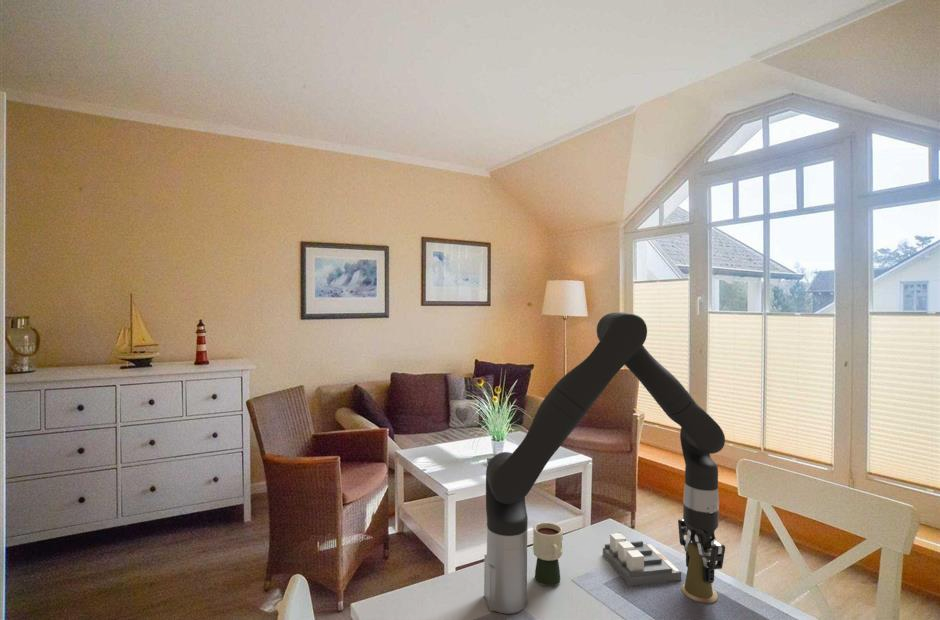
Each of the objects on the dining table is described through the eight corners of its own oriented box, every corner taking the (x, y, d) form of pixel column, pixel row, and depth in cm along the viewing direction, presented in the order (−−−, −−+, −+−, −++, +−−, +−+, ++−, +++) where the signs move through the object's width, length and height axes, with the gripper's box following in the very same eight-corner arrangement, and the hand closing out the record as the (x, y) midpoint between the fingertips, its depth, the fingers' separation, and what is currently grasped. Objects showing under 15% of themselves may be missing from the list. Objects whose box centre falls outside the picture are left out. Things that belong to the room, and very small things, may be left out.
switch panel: (629, 585, 114) (629, 573, 114) (602, 555, 128) (602, 544, 128) (681, 580, 117) (681, 568, 117) (649, 550, 130) (650, 540, 130)
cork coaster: (695, 604, 107) (695, 602, 107) (675, 585, 114) (675, 583, 114) (725, 601, 108) (725, 599, 108) (703, 582, 116) (703, 580, 116)
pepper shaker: (716, 599, 108) (717, 552, 108) (688, 596, 109) (689, 549, 109) (708, 584, 114) (708, 539, 114) (681, 581, 115) (682, 537, 115)
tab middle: (623, 563, 120) (623, 548, 120) (617, 557, 123) (618, 542, 123) (634, 562, 120) (634, 547, 120) (628, 556, 123) (628, 541, 123)
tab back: (615, 554, 124) (615, 539, 124) (609, 548, 127) (610, 533, 127) (625, 553, 125) (626, 538, 125) (620, 547, 128) (620, 533, 128)
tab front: (632, 573, 115) (632, 557, 115) (626, 566, 118) (626, 550, 118) (643, 572, 116) (644, 556, 116) (637, 565, 119) (637, 549, 119)
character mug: (570, 592, 111) (570, 538, 111) (541, 596, 110) (542, 541, 109) (552, 567, 122) (553, 517, 122) (526, 570, 120) (526, 519, 120)
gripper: (668, 492, 117) (667, 559, 118) (707, 518, 103) (705, 595, 104) (695, 491, 119) (694, 557, 119) (737, 516, 105) (735, 591, 105)
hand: (699, 574), depth 111 cm, fingers open, 5 cm apart
